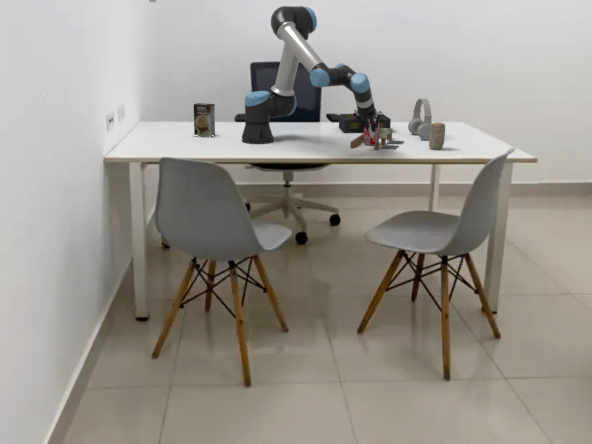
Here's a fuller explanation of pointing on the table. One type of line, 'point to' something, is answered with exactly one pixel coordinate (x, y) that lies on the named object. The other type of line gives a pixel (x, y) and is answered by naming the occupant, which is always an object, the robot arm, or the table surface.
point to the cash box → (351, 124)
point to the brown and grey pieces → (384, 135)
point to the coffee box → (204, 119)
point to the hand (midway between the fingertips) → (372, 135)
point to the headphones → (417, 124)
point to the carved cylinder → (437, 136)
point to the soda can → (367, 138)
